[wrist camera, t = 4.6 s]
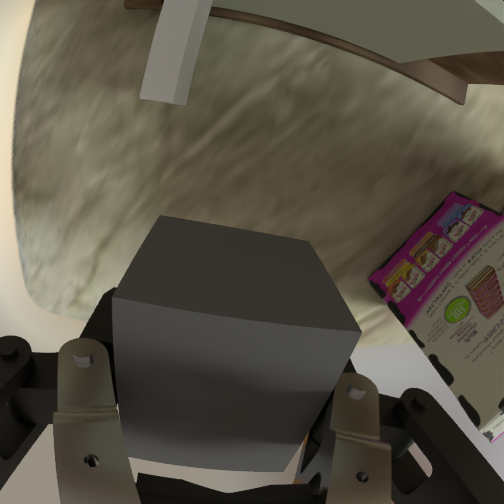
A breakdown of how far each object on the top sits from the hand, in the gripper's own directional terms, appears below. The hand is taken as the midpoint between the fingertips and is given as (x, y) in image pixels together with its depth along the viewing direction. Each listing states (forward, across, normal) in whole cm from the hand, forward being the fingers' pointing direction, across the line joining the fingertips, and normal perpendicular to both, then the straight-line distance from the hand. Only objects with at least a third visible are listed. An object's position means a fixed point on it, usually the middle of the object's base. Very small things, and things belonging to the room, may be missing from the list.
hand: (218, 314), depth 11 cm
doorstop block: (+1, 0, 0) cm, 1 cm away
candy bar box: (+13, -17, 0) cm, 22 cm away
